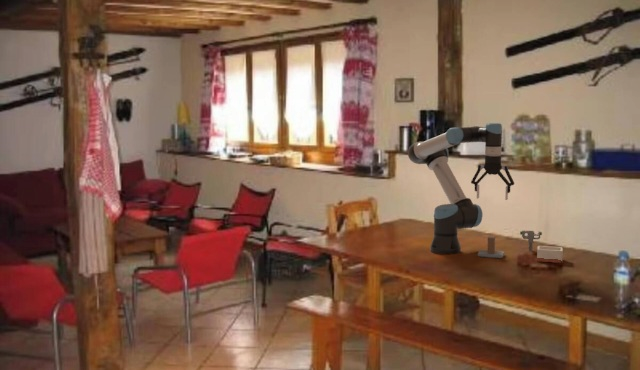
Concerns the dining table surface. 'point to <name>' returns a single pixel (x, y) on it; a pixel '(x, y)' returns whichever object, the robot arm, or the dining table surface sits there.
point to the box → (549, 252)
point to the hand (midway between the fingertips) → (492, 198)
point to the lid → (491, 250)
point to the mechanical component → (530, 237)
